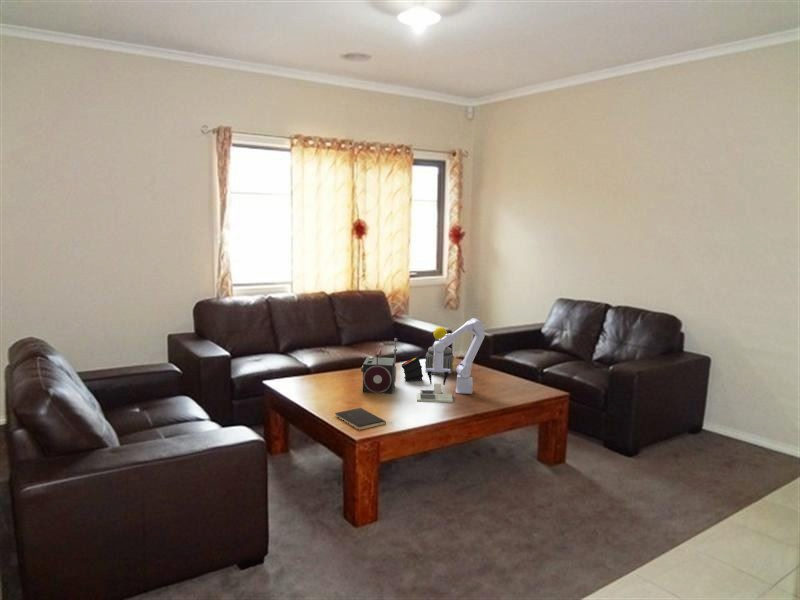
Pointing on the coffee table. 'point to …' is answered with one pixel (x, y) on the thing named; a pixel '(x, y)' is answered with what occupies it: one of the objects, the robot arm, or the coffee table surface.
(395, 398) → the coffee table surface
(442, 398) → the plate
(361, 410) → the hardcover book
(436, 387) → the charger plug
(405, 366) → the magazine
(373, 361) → the boombox
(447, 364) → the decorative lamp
